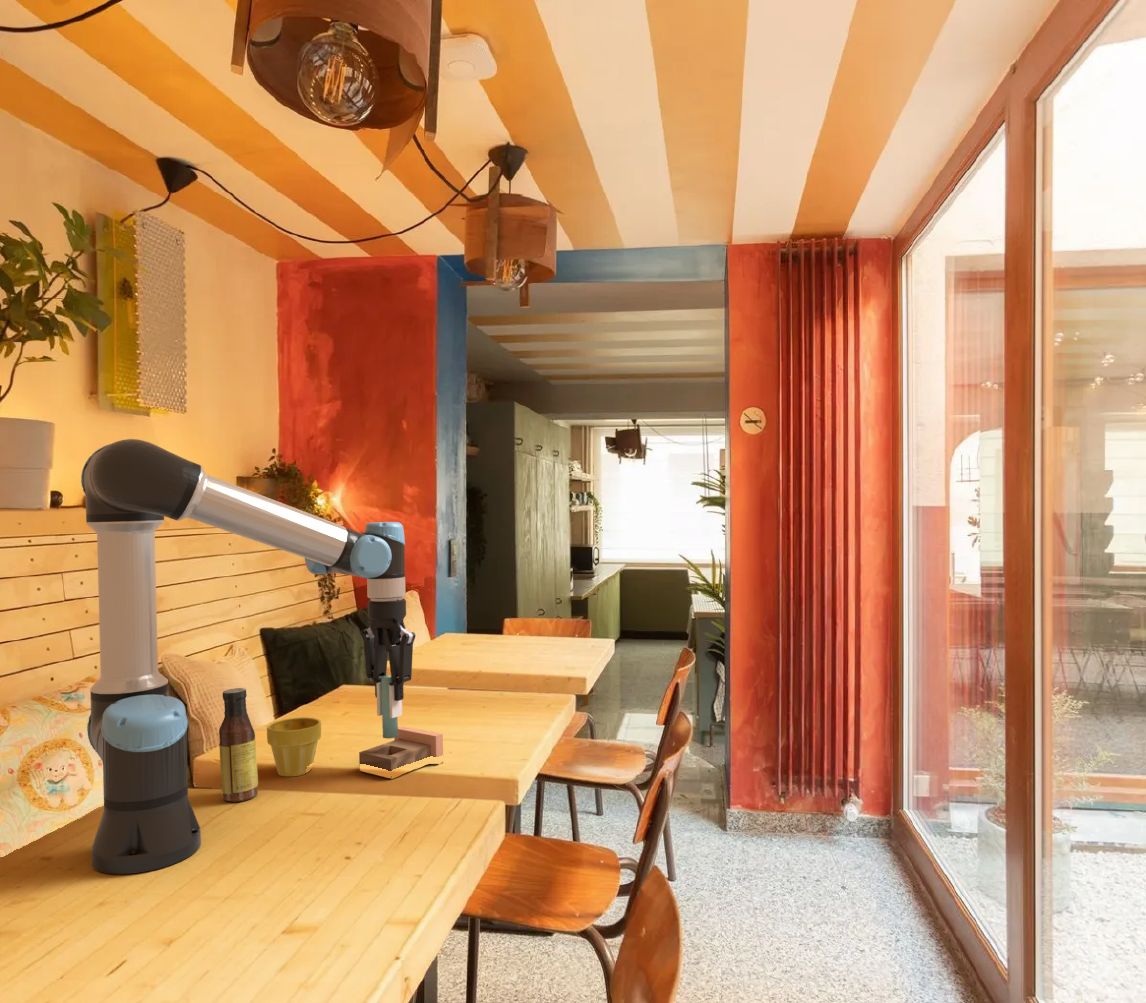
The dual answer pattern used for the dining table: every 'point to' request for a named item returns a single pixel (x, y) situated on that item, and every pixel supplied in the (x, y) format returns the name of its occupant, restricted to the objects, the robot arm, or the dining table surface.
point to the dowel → (387, 711)
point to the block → (395, 754)
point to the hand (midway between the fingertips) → (389, 715)
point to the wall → (423, 738)
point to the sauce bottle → (237, 749)
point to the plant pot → (294, 744)
